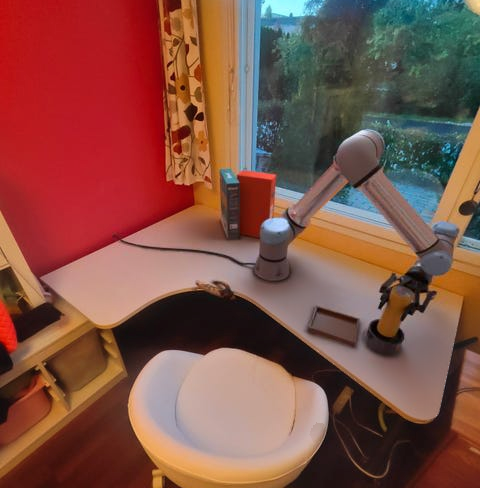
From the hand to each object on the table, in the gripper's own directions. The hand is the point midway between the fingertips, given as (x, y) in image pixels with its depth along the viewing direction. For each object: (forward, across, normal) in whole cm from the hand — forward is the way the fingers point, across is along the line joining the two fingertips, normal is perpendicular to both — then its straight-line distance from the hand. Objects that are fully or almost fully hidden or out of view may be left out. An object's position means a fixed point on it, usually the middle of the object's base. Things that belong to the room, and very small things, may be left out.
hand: (391, 311), depth 81 cm
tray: (0, +14, -18) cm, 23 cm away
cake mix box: (-22, +91, -18) cm, 95 cm away
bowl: (-5, 0, -18) cm, 18 cm away
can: (-5, 0, -12) cm, 13 cm away
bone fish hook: (+17, +57, -18) cm, 62 cm away
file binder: (-29, +79, -18) cm, 86 cm away
